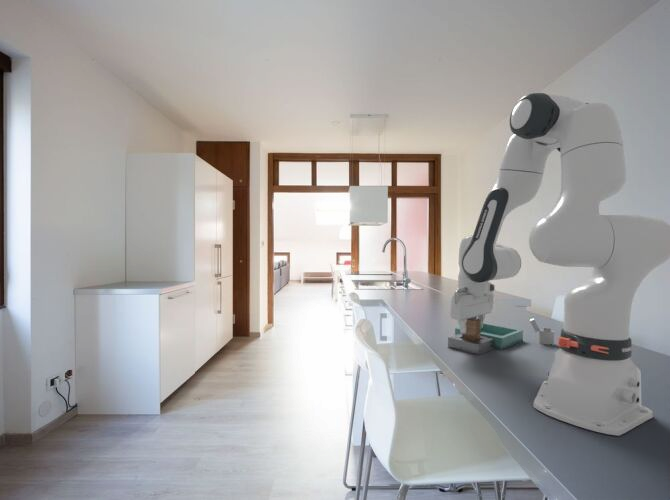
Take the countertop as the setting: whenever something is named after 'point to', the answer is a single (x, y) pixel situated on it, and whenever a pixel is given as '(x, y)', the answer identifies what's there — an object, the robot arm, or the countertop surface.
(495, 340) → the tray
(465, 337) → the brown wooden tall block
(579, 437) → the countertop surface
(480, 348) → the grey square box
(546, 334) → the lighter
